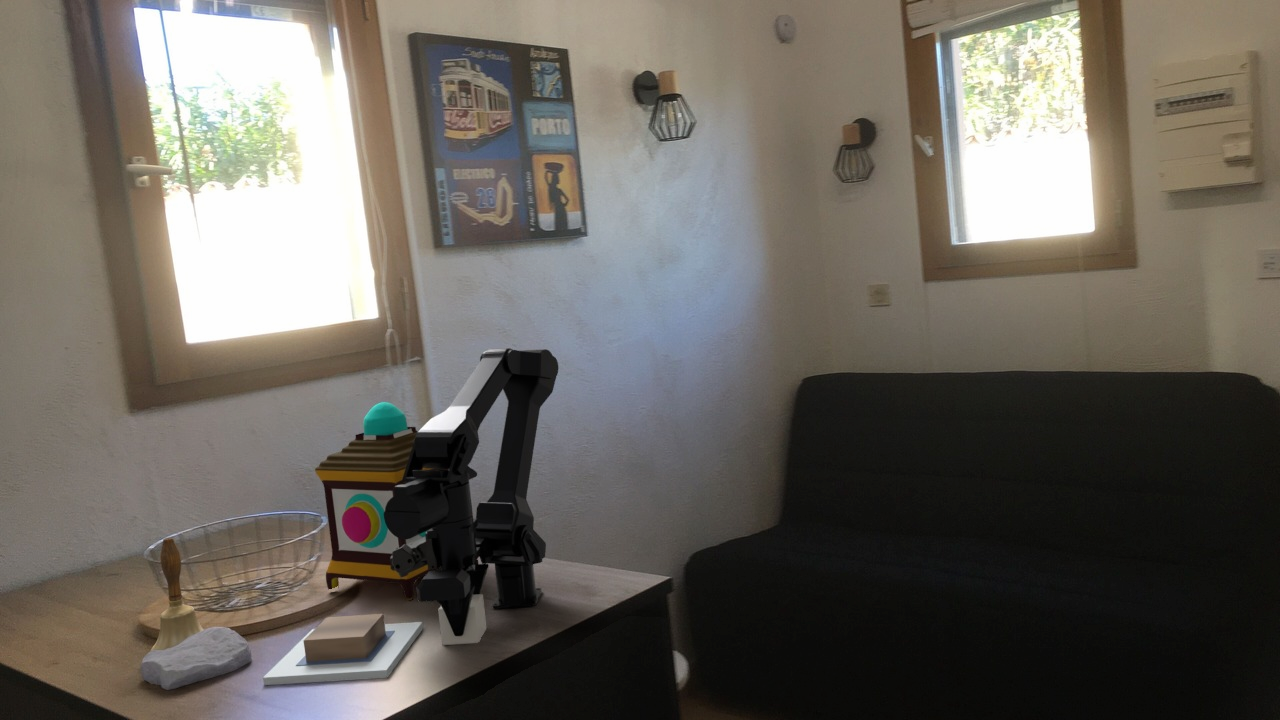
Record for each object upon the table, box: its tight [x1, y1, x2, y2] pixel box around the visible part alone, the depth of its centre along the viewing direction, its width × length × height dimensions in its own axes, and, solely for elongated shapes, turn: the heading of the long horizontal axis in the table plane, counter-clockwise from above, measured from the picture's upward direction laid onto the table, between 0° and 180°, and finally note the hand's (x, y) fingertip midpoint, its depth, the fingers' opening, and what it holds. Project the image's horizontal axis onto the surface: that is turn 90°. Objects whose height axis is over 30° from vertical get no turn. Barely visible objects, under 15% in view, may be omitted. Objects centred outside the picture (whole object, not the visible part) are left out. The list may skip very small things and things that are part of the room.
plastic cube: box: [437, 593, 487, 646], centre depth 132 cm, size 5×5×5 cm
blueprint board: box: [262, 613, 424, 686], centre depth 129 cm, size 16×16×4 cm
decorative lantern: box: [314, 401, 449, 601], centre depth 158 cm, size 20×20×30 cm
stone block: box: [140, 626, 253, 691], centre depth 128 cm, size 12×5×10 cm
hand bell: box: [149, 537, 205, 652], centre depth 137 cm, size 8×8×16 cm
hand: (463, 628), depth 132 cm, fingers closed on plastic cube, 5 cm apart
